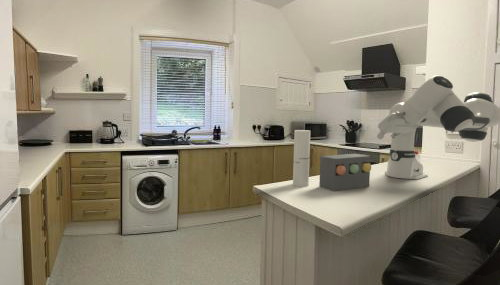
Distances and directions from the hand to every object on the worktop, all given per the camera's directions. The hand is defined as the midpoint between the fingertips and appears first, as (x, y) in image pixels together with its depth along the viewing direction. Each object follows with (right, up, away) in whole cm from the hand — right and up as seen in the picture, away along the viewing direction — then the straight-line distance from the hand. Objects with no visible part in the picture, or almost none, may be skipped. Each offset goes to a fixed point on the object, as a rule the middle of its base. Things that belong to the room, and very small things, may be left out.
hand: (385, 137), depth 136 cm
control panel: (-12, -22, +18) cm, 31 cm away
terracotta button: (-16, -16, +10) cm, 24 cm away
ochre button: (-2, -15, +18) cm, 23 cm away
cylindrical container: (-31, -22, +20) cm, 43 cm away
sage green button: (-9, -15, +14) cm, 22 cm away
